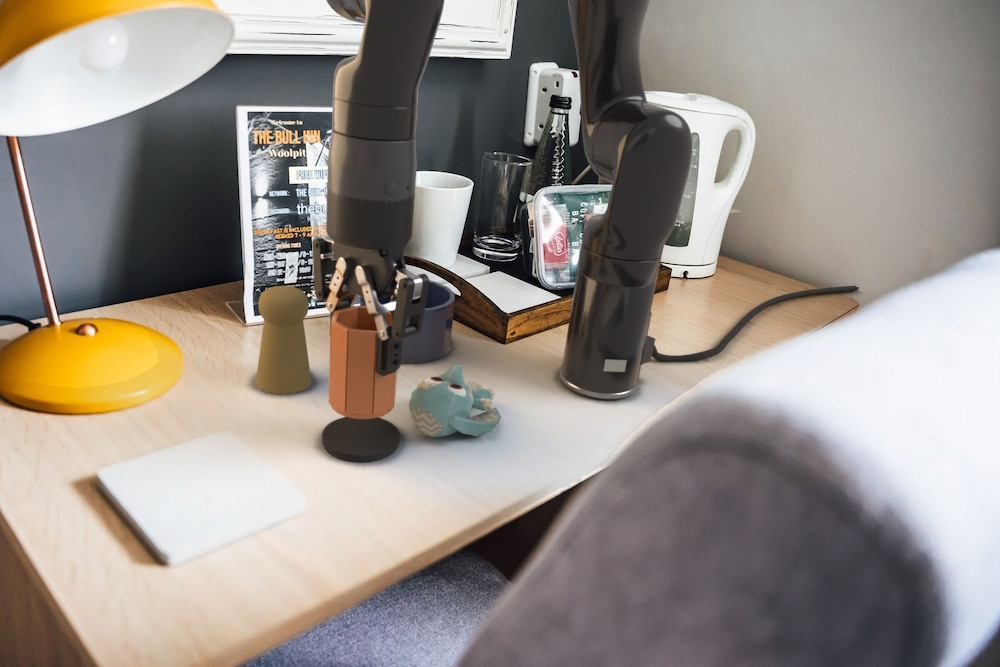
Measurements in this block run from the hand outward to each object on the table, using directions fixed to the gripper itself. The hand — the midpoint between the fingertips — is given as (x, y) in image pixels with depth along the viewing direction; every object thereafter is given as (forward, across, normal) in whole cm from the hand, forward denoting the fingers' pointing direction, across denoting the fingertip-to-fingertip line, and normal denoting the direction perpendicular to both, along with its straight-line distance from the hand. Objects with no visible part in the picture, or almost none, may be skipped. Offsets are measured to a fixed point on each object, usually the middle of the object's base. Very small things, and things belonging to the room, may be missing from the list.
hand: (363, 358), depth 73 cm
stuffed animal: (+9, -3, -10) cm, 14 cm away
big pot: (+9, +15, -19) cm, 26 cm away
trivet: (+9, 0, 0) cm, 9 cm away
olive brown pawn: (+9, +15, -1) cm, 18 cm away
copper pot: (+5, 0, 0) cm, 5 cm away
